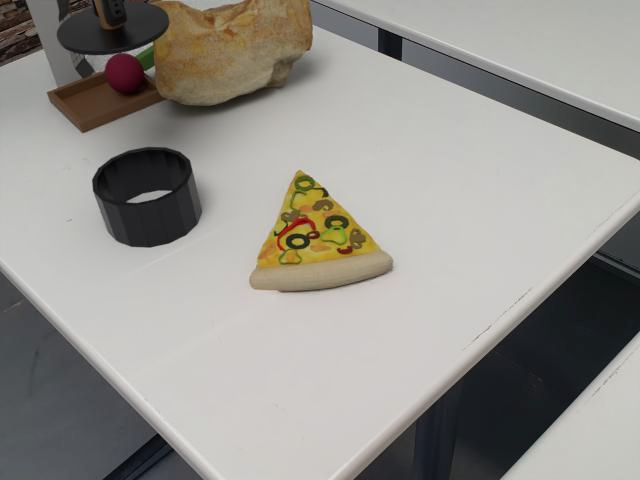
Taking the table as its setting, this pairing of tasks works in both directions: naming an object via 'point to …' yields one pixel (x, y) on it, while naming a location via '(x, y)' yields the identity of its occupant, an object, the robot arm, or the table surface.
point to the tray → (101, 101)
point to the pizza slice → (315, 244)
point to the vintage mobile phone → (48, 14)
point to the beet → (128, 70)
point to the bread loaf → (229, 48)
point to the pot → (154, 215)
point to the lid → (113, 30)
